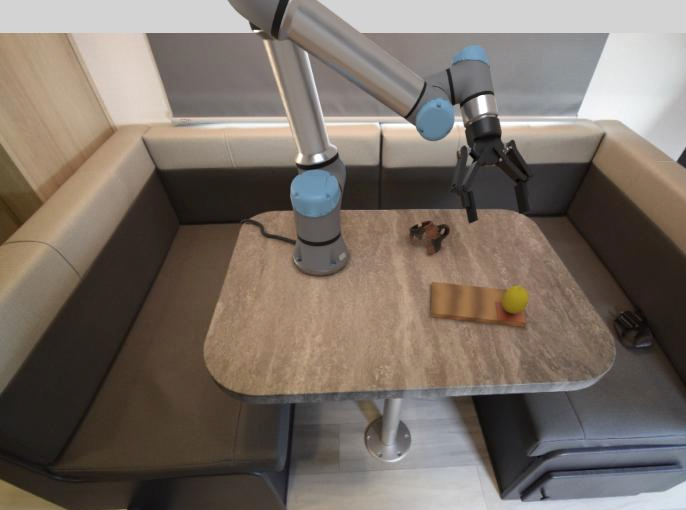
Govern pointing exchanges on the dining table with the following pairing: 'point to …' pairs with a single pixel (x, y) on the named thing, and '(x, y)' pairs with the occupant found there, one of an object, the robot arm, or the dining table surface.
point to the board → (472, 304)
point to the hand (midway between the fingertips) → (499, 217)
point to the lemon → (515, 299)
